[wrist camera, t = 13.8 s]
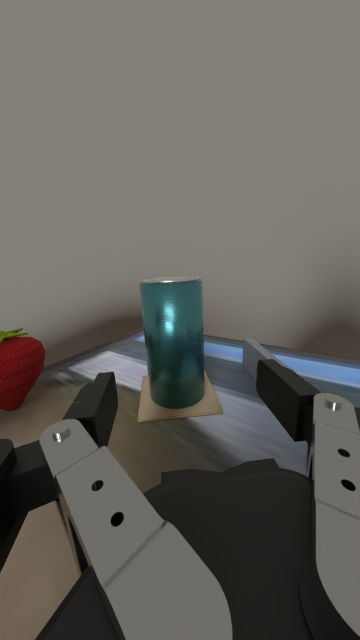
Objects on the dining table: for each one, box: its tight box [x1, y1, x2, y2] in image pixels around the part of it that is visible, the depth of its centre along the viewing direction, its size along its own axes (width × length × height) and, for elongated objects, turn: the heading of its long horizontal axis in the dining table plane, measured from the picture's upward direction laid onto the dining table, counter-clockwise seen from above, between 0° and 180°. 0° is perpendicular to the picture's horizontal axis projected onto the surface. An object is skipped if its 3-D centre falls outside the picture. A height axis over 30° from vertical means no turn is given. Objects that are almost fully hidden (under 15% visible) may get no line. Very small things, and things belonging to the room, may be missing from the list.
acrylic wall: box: [243, 338, 308, 443], centre depth 18 cm, size 1×24×4 cm, turn 6°
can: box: [139, 276, 205, 409], centre depth 22 cm, size 6×6×12 cm
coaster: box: [138, 371, 223, 422], centre depth 24 cm, size 8×8×1 cm
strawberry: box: [0, 328, 45, 411], centre depth 21 cm, size 6×8×10 cm
